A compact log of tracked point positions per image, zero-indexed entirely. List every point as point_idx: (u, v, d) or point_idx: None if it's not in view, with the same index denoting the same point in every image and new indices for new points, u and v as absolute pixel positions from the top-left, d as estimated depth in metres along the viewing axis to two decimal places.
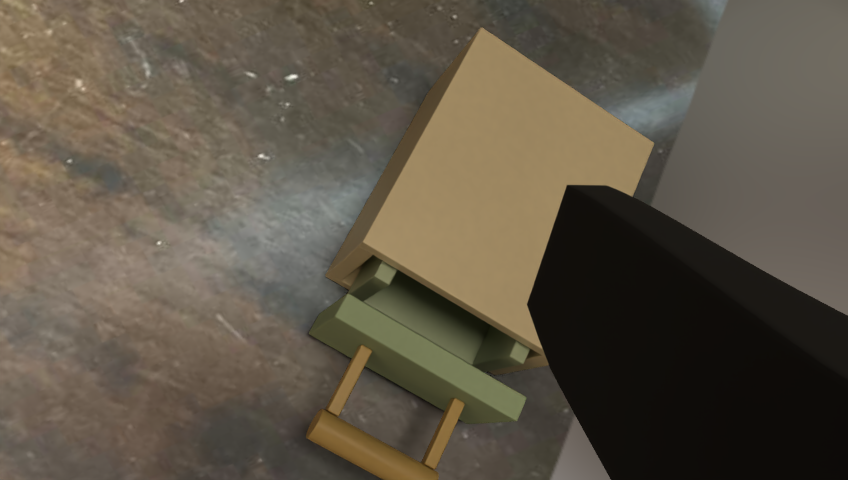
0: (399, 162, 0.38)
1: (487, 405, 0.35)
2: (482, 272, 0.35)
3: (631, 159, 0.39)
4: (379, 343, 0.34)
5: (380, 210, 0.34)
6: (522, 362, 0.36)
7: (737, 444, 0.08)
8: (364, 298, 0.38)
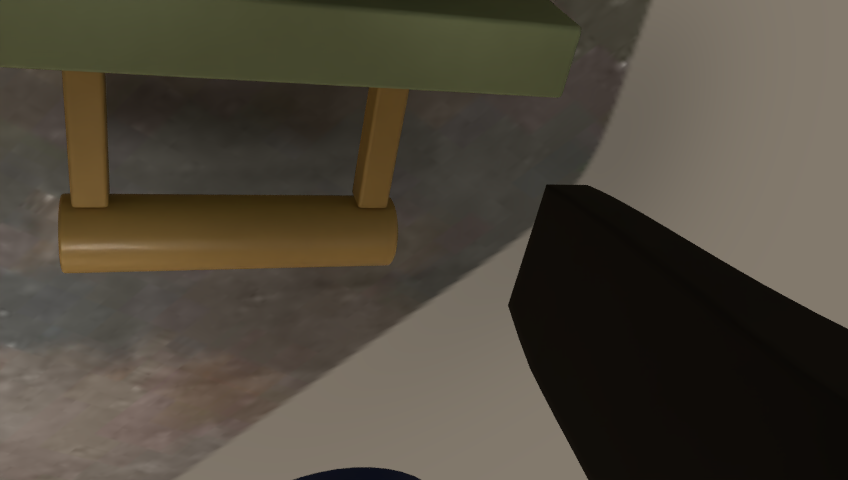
0: None
1: None
2: None
3: None
4: (81, 68, 0.10)
5: None
6: None
7: (712, 447, 0.07)
8: None
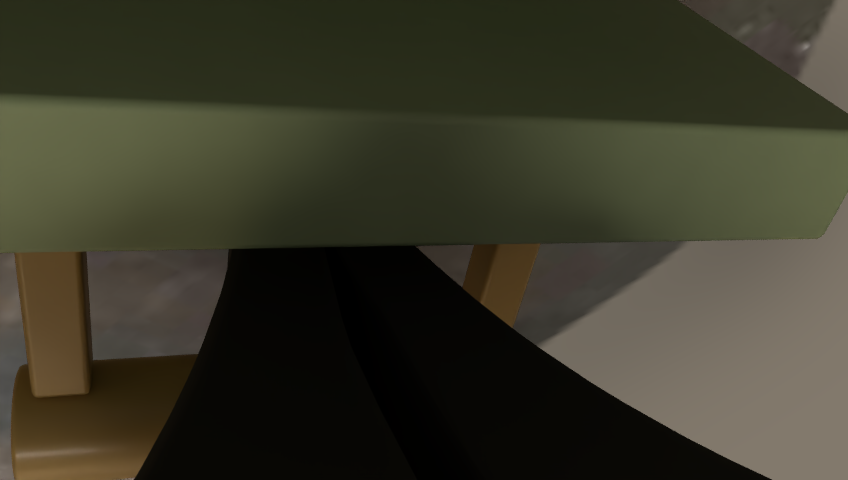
0: None
1: None
2: None
3: None
4: None
5: None
6: None
7: None
8: None
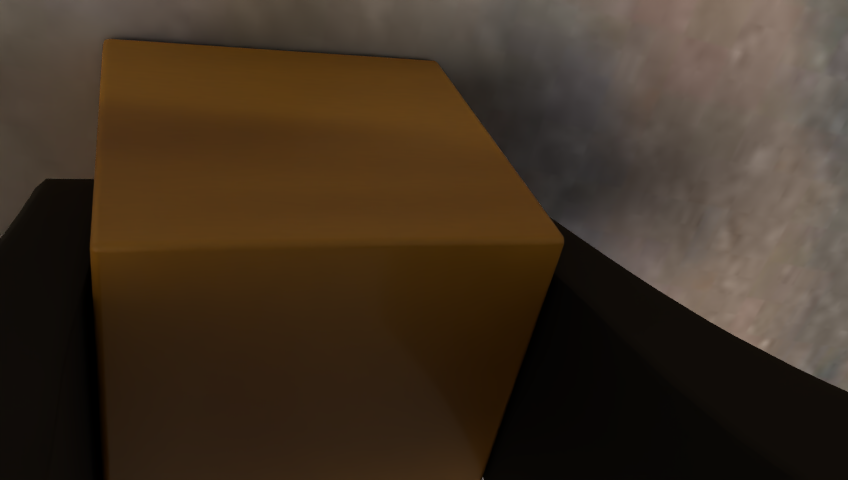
0: None
1: None
2: None
3: None
4: None
5: None
6: None
7: (593, 462, 0.07)
8: None
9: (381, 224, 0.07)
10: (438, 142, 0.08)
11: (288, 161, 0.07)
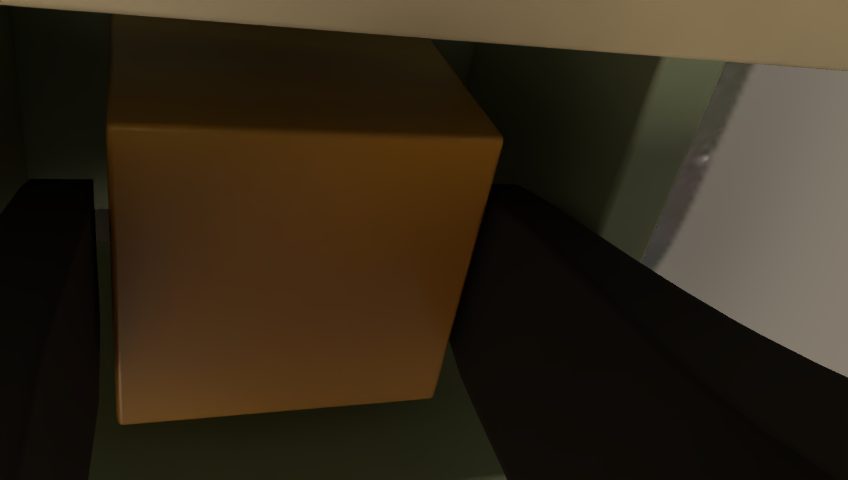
0: None
1: None
2: None
3: None
4: None
5: None
6: None
7: (620, 459, 0.07)
8: None
9: (347, 121, 0.08)
10: (401, 66, 0.10)
11: (270, 74, 0.09)
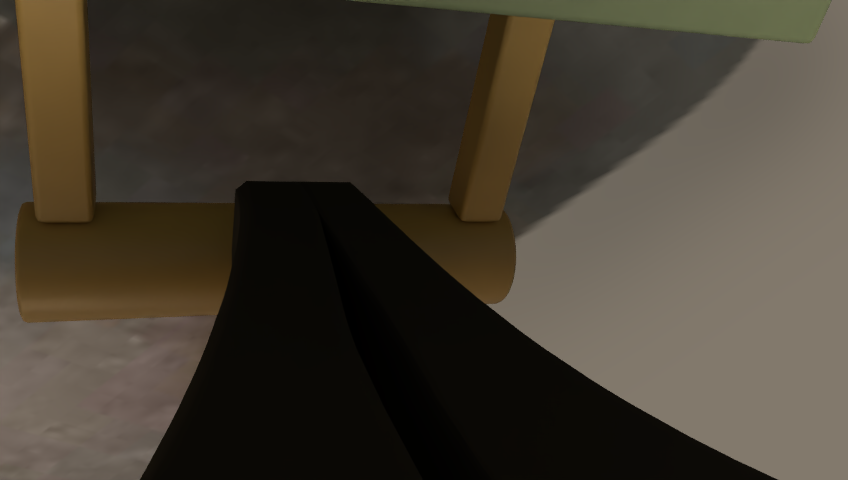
0: None
1: None
2: None
3: None
4: None
5: None
6: None
7: None
8: None
9: None
10: None
11: None
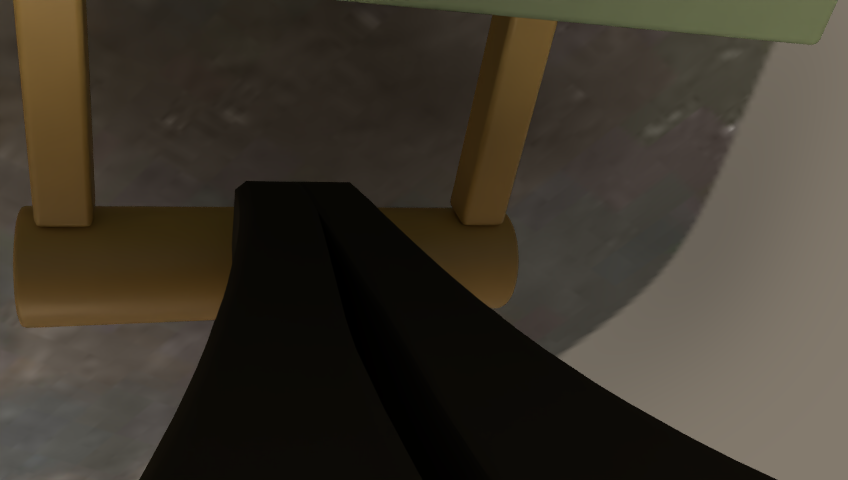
0: None
1: (684, 30, 0.08)
2: None
3: None
4: None
5: None
6: None
7: None
8: None
9: None
10: None
11: None
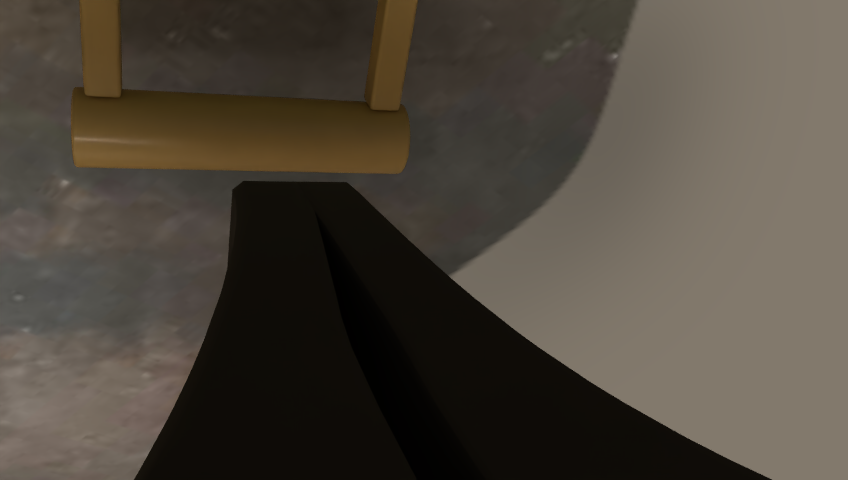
0: None
1: None
2: None
3: None
4: None
5: None
6: None
7: None
8: None
9: None
10: None
11: None
